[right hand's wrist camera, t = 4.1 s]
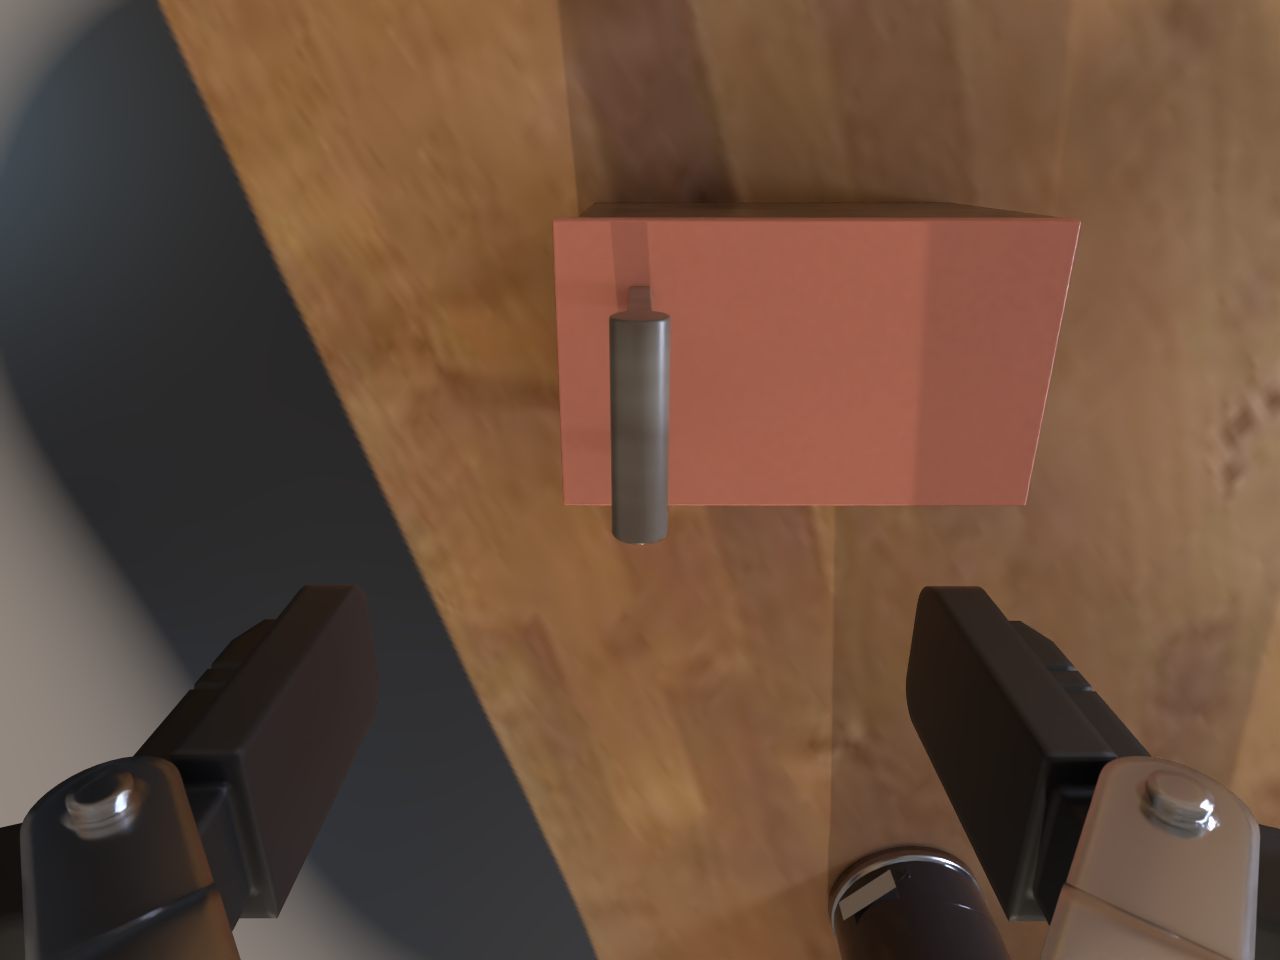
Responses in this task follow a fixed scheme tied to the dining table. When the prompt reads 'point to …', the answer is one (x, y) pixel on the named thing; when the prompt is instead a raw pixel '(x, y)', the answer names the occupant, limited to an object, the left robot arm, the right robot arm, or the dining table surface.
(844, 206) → the chest
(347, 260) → the dining table surface
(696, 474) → the lid
